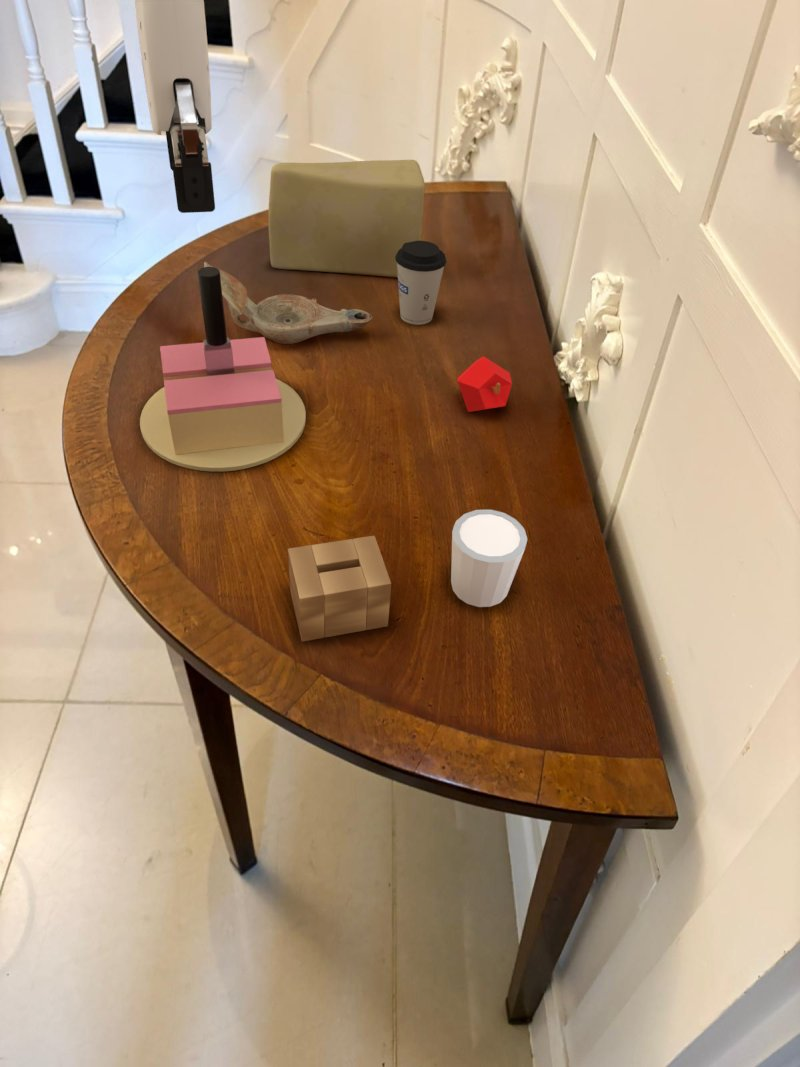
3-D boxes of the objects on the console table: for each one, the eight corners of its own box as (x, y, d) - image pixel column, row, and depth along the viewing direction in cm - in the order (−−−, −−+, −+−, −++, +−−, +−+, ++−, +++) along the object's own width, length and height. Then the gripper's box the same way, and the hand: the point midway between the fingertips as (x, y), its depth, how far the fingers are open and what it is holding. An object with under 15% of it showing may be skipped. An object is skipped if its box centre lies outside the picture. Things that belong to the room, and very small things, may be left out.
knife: (213, 421, 91) (194, 277, 78) (211, 410, 92) (192, 267, 80) (239, 418, 92) (224, 275, 79) (237, 407, 93) (222, 265, 80)
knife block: (301, 642, 70) (299, 598, 66) (290, 592, 74) (287, 548, 70) (388, 626, 72) (391, 583, 68) (372, 578, 76) (374, 535, 72)
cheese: (270, 282, 116) (264, 178, 105) (271, 252, 123) (265, 151, 112) (418, 282, 119) (427, 181, 108) (411, 253, 125) (418, 154, 115)
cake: (144, 482, 84) (133, 433, 79) (137, 381, 96) (127, 334, 92) (320, 460, 88) (319, 412, 83) (291, 366, 101) (289, 320, 96)
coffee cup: (442, 306, 114) (449, 239, 107) (439, 331, 109) (446, 263, 102) (394, 301, 114) (398, 234, 107) (389, 326, 109) (393, 257, 102)
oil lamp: (215, 316, 108) (207, 246, 101) (370, 319, 110) (373, 251, 103) (209, 351, 102) (199, 279, 95) (373, 353, 104) (375, 283, 97)
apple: (449, 348, 96) (476, 361, 89) (499, 352, 98) (528, 365, 91) (441, 403, 99) (466, 420, 92) (489, 406, 101) (517, 423, 94)
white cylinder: (515, 563, 79) (527, 512, 74) (515, 616, 74) (528, 565, 69) (446, 555, 79) (454, 504, 74) (442, 607, 74) (450, 557, 69)
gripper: (113, -58, 66) (145, 157, 78) (118, -14, 54) (155, 231, 66) (205, -54, 68) (222, 155, 79) (228, -11, 56) (245, 227, 68)
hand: (192, 189), depth 73 cm, fingers open, 9 cm apart
